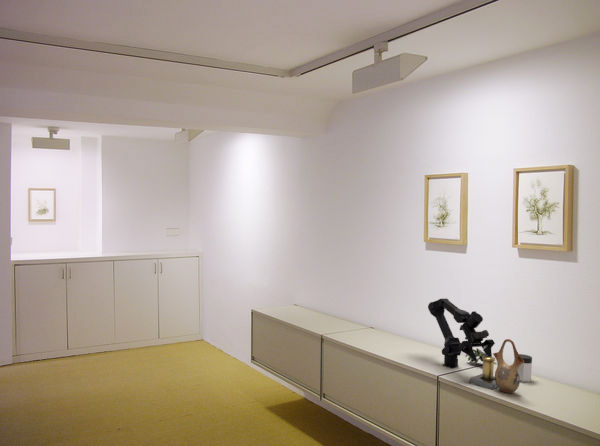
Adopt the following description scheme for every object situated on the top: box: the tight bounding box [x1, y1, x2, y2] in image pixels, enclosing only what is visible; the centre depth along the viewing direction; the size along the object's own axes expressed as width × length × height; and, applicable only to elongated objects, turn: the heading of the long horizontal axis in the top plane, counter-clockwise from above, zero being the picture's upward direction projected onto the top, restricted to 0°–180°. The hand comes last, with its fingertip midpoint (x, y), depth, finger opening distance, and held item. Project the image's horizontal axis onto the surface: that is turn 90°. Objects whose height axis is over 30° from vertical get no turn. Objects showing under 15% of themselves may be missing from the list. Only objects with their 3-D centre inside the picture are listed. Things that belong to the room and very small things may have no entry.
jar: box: [518, 353, 533, 383], centre depth 269 cm, size 9×8×12 cm
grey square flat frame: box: [469, 373, 499, 390], centre depth 260 cm, size 12×12×2 cm
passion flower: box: [465, 347, 487, 367], centre depth 293 cm, size 11×11×12 cm
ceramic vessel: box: [492, 338, 524, 394], centre depth 249 cm, size 16×9×25 cm, turn 32°
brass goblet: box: [481, 356, 496, 381], centre depth 260 cm, size 6×6×13 cm
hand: (483, 360), depth 263 cm, fingers open, 9 cm apart
